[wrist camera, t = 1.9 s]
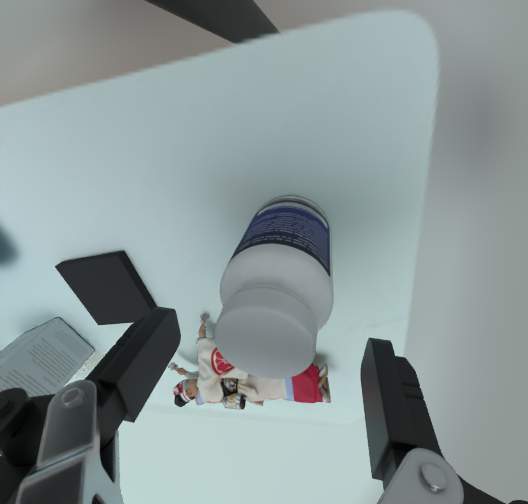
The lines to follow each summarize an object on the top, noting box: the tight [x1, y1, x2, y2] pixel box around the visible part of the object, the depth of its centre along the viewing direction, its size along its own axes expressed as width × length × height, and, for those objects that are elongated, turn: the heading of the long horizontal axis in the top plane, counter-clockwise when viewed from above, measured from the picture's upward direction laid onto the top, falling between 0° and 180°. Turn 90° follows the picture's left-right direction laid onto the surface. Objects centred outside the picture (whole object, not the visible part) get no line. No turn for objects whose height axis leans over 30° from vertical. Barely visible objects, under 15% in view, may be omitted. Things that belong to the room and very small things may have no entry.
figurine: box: [168, 314, 331, 409], centre depth 25 cm, size 6×8×15 cm
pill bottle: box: [214, 196, 333, 379], centre depth 14 cm, size 5×5×10 cm
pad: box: [55, 251, 156, 325], centre depth 25 cm, size 7×7×1 cm
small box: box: [0, 318, 94, 397], centre depth 27 cm, size 8×6×10 cm
